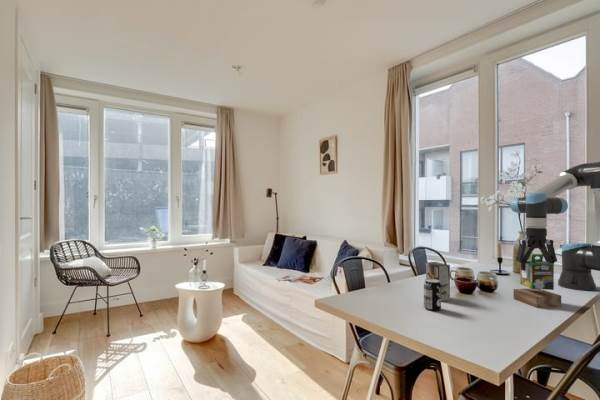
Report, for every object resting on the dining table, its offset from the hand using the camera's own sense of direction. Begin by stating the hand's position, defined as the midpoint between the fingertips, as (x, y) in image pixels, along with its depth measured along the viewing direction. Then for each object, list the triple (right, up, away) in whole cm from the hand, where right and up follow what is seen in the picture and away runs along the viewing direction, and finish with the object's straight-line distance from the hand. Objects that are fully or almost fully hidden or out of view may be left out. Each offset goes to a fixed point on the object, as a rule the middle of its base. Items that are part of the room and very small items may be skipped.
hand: (536, 277), depth 140 cm
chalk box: (0, -4, 0) cm, 4 cm away
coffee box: (-41, -11, +7) cm, 43 cm away
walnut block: (0, -11, 0) cm, 11 cm away
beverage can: (-50, -11, -8) cm, 52 cm away
